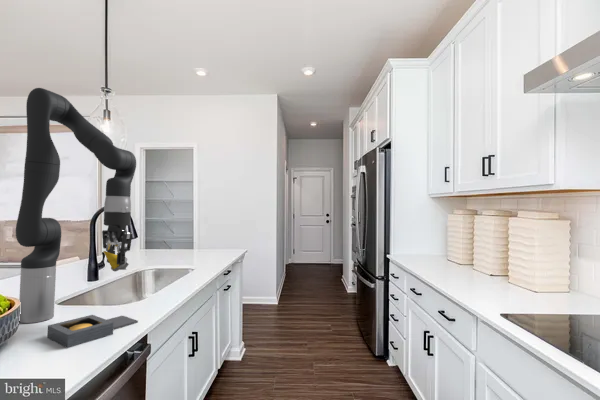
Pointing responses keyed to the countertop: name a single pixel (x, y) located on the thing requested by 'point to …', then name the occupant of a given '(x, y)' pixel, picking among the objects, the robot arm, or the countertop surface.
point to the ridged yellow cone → (115, 262)
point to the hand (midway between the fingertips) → (115, 263)
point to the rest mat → (122, 321)
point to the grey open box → (79, 331)
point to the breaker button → (79, 326)
